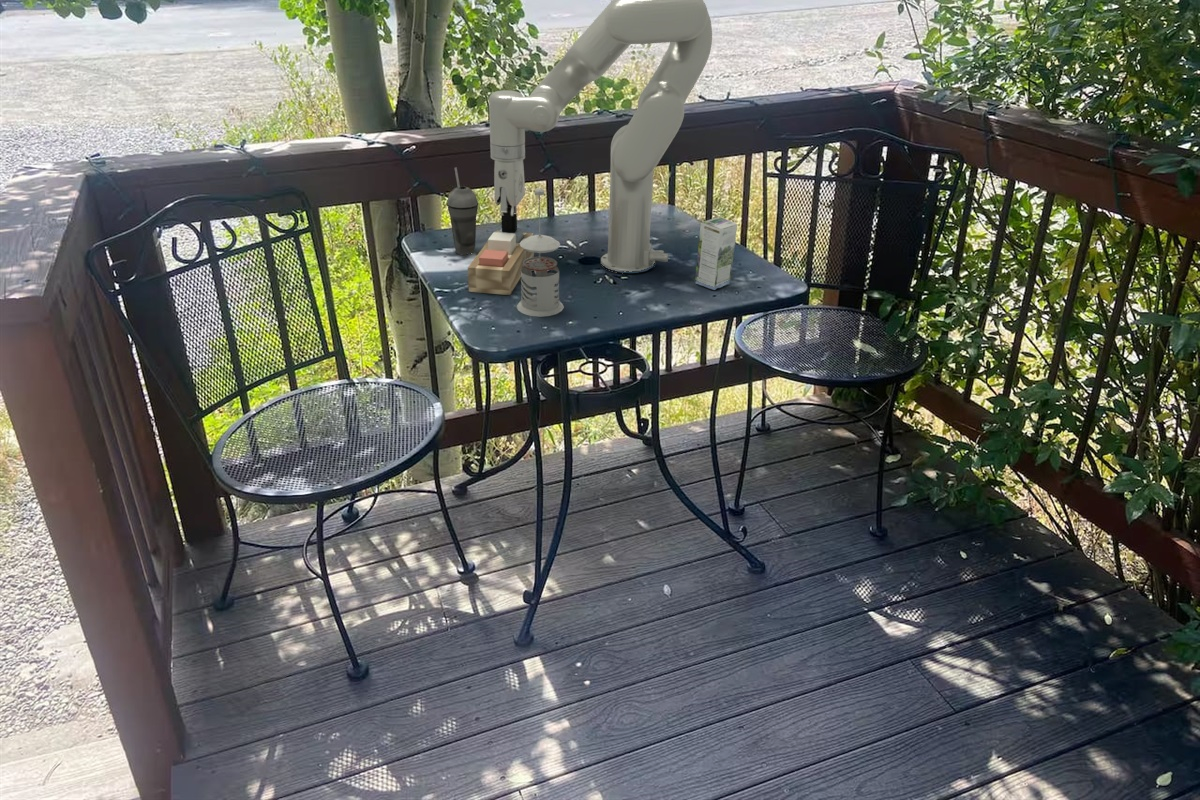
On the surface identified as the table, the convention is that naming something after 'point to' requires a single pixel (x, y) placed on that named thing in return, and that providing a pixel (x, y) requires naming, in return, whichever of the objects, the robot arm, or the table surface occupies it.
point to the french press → (539, 276)
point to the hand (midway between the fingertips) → (509, 231)
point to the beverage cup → (463, 217)
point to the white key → (502, 242)
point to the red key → (493, 258)
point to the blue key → (518, 234)
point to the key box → (497, 272)
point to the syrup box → (715, 251)
